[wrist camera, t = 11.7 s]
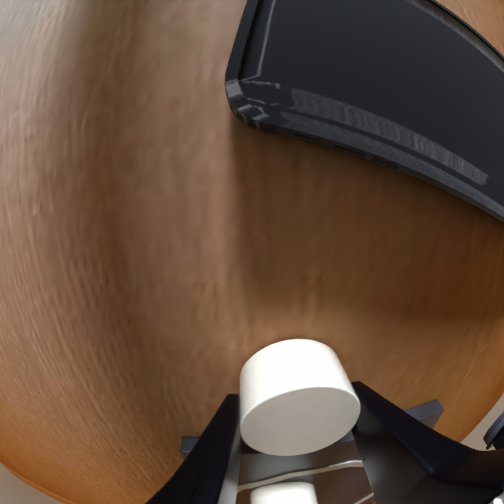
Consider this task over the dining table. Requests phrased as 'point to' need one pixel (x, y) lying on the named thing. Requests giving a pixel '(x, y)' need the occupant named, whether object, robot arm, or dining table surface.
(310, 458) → the slate
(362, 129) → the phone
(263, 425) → the cream round box
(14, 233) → the dining table surface
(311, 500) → the white round puck
